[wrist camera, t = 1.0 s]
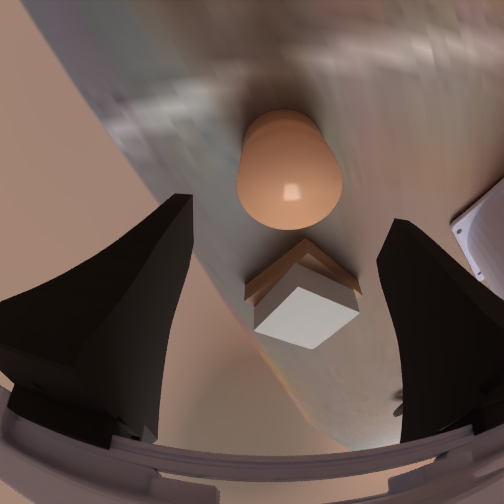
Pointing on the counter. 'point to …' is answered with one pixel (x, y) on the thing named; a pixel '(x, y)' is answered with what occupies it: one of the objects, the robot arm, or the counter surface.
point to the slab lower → (304, 256)
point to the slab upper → (305, 308)
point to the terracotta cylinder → (287, 171)
